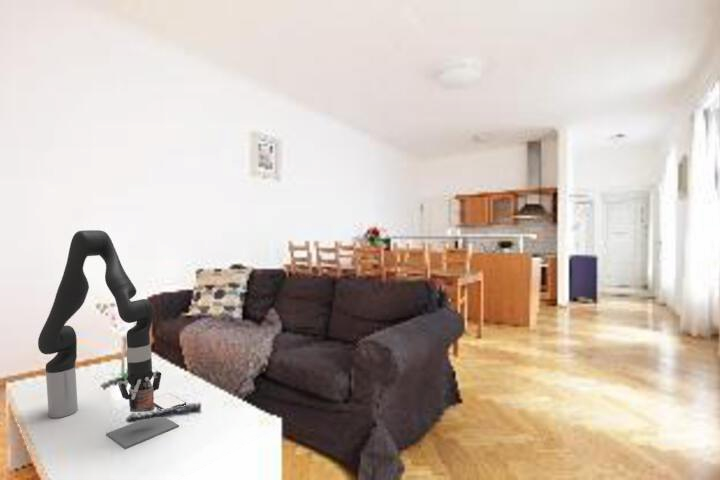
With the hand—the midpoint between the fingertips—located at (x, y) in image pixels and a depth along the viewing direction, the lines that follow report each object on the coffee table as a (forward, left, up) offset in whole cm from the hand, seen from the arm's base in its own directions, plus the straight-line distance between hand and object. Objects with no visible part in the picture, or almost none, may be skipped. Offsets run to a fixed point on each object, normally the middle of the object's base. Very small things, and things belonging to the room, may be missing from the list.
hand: (141, 406), depth 147 cm
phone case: (-14, +16, -9) cm, 24 cm away
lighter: (0, 0, -2) cm, 2 cm away
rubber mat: (0, 0, -9) cm, 9 cm away
